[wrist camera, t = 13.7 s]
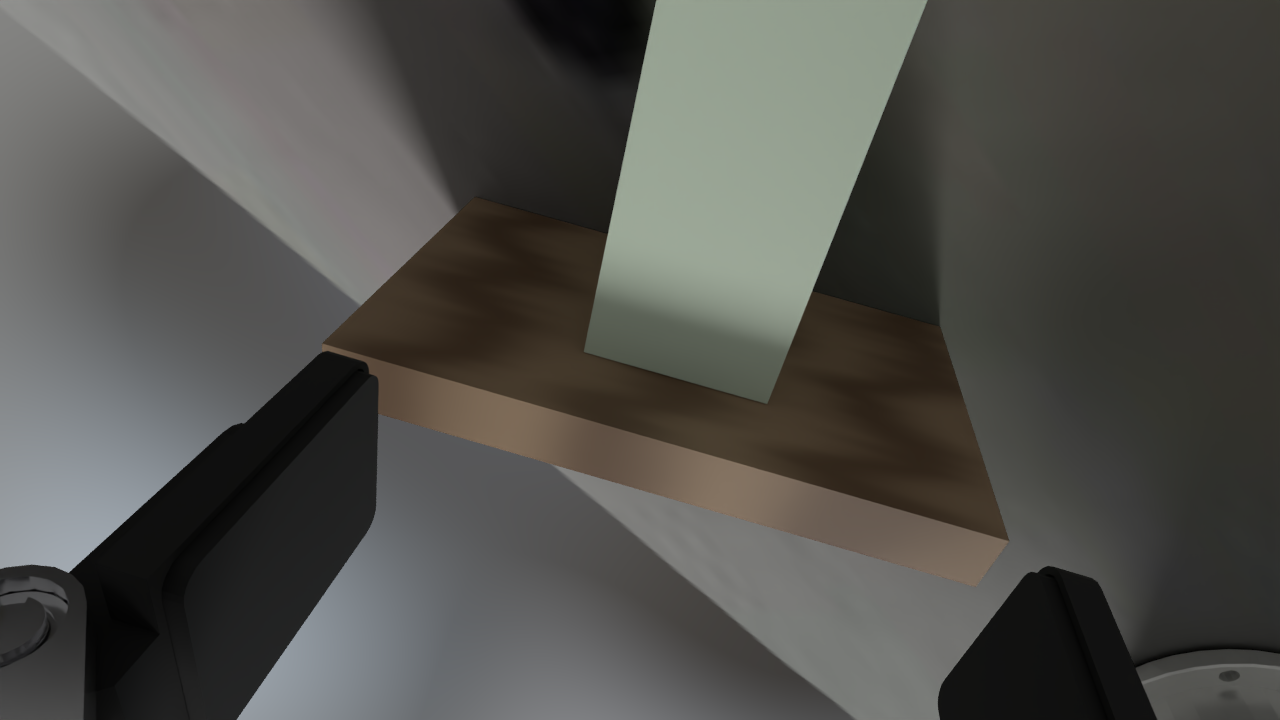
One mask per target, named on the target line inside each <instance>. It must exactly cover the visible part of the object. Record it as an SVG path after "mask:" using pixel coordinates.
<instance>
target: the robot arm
mask: <svg viewBox="0 0 1280 720" xmlns="http://www.w3.org/2000/svg"><path fill="white" fill-rule="evenodd" d="M378 396H379V382H378V378H377V376H375V375H372V374H369V367H368V365H367V363H365V362H364V361H361V360H357V359H354V358H351V357H347V356H344V355H340V354H337V353H334V352H330V351H324V352H322V353H320V354H319V355H318V356H317V357H316V358H314V359H313V360H312V361H311V362H310V363H309V364H308V365H307V366H306V367H305V368H304V369H303V370H302V371H300V372H299V373H298V374H297V375H296V376H295V377H294V378H293V379H292V380H291V381H290V382H289V383H288V384H287V385H285V386H284V387H283V388H282V389H281V390H280V391H279V392H278V393H277V394H276V395H275V396H274V397H273V398H271V400H269V401H268V402H267V403H266V404H265V405H264V406H263V407H262V408H261V409H260V410H259V411H258V412H256V413H255V414H254V415H253V416H252V417H251V418H250V419H249V420H248V421H247V422H246V423H245V424H242V423H240V424H237V425H233V426H231V427H230V428H229V429H227V430H226V431H224V432H223V433H222V434H221V435H220V436H218V437H217V438H216V439H215V440H214V441H213V442H212V443H211V444H210V445H209V446H208V447H207V448H205V449H204V450H203V451H202V452H201V453H200V454H199V455H198V456H197V457H196V458H194V459H193V460H192V461H191V462H190V463H189V464H188V465H187V466H186V467H184V468H183V469H182V470H181V471H180V472H179V473H178V474H177V475H176V476H175V477H173V478H172V479H171V480H170V481H169V482H168V483H167V484H166V485H165V486H164V487H163V488H161V489H160V490H159V491H158V492H157V493H156V494H155V495H154V496H153V497H152V498H151V499H150V500H148V501H147V502H146V503H145V504H144V505H143V506H142V507H141V508H139V509H138V510H137V511H136V512H135V513H134V514H133V515H132V516H131V517H130V518H129V519H127V520H126V521H125V522H124V523H123V524H122V525H121V526H120V527H119V528H118V529H117V530H115V531H114V532H113V533H112V534H111V535H110V536H109V537H108V538H107V539H106V540H104V541H103V542H102V543H101V544H100V545H99V546H98V547H97V548H96V549H95V550H94V551H92V552H91V553H90V554H89V555H88V556H87V557H86V558H85V559H84V560H82V561H81V562H80V563H79V564H78V565H77V566H76V567H75V568H74V569H72V571H70V572H69V573H67V572H65V571H63V570H60V569H58V568H56V567H49V566H39V565H24V566H15V567H6V568H3V569H0V720H237V718H238V717H239V715H240V714H241V712H242V711H243V709H244V708H245V707H246V705H247V704H248V702H249V701H250V699H251V698H252V696H253V695H254V693H255V692H256V691H257V689H258V688H259V686H260V685H261V684H262V682H263V681H264V679H265V678H266V676H267V675H268V674H269V672H270V671H271V669H272V668H273V666H274V665H275V663H276V662H277V661H278V659H279V658H280V656H281V655H282V653H283V652H284V651H285V649H286V648H287V646H288V645H289V643H290V642H291V641H292V639H293V638H294V636H295V635H296V633H297V632H298V630H299V629H300V628H301V626H302V625H303V623H304V622H305V620H306V619H307V618H308V616H309V615H310V613H311V612H312V610H313V609H314V607H315V606H316V605H317V603H318V602H319V600H320V599H321V597H322V596H323V595H324V593H325V592H326V590H327V589H328V587H329V586H330V585H331V583H332V581H333V580H334V579H335V577H336V576H337V575H338V573H339V572H340V570H341V569H342V567H343V566H344V564H345V563H346V562H347V560H348V559H349V557H350V556H351V554H352V553H353V551H354V550H355V549H356V547H357V546H358V544H359V543H360V541H361V540H362V538H363V537H364V536H365V534H366V533H367V531H368V529H369V528H370V525H371V523H372V521H373V518H374V515H375V510H376V481H377V439H378ZM938 710H939V716H940V720H1280V654H1277V653H1271V652H1264V651H1258V650H1239V649H1220V650H1204V651H1196V652H1190V653H1184V654H1178V655H1172V656H1169V657H1165V658H1162V659H1159V660H1155V661H1152V662H1148V663H1146V664H1143V665H1141V666H1139V667H1136V668H1135V666H1134V664H1133V661H1132V659H1131V657H1130V654H1129V652H1128V650H1127V647H1126V645H1125V643H1124V640H1123V638H1122V636H1121V633H1120V631H1119V629H1118V626H1117V624H1116V622H1115V619H1114V617H1113V615H1112V612H1111V610H1110V608H1109V605H1108V603H1107V601H1106V598H1105V596H1104V593H1103V591H1102V589H1101V587H1100V586H1099V584H1098V582H1096V581H1095V580H1094V579H1092V578H1089V577H1086V576H1083V575H1079V574H1076V573H1073V572H1069V571H1066V570H1062V569H1059V568H1056V567H1051V566H1047V567H1044V568H1042V569H1041V570H1040V571H1039V572H1038V573H1035V572H1030V573H1028V574H1026V575H1025V576H1024V577H1023V579H1022V580H1021V581H1020V583H1019V584H1018V585H1017V586H1016V588H1015V589H1014V590H1013V592H1012V593H1011V594H1010V596H1009V597H1008V598H1007V599H1006V601H1005V602H1004V603H1003V605H1002V606H1001V607H1000V609H999V610H998V611H997V612H996V614H995V615H994V616H993V618H992V619H991V620H990V622H989V623H988V624H987V625H986V627H985V628H984V629H983V631H982V632H981V633H980V635H979V636H978V637H977V638H976V640H975V641H974V642H973V644H972V645H971V646H970V648H969V649H968V650H967V651H966V653H965V654H964V655H963V657H962V658H961V659H960V661H959V662H958V663H957V664H956V666H955V667H954V668H953V670H952V671H951V672H950V674H949V675H948V676H947V677H946V679H945V680H944V682H943V683H942V685H941V688H940V691H939V696H938Z"/></svg>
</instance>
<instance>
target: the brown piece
mask: <svg viewBox="0 0 1280 720" xmlns="http://www.w3.org/2000/svg"><path fill="white" fill-rule="evenodd" d="M607 236H608V234H606V233H603V232H599V231H595V230H592V229H588V228H585V227H581V226H578V225H574V224H570V223H567V222H563V221H560V220H556V219H553V218H549V217H545V216H542V215H538V214H535V213H531V212H527V211H524V210H520V209H517V208H513V207H510V206H506V205H502V204H499V203H495V202H492V201H488V200H485V199H481V198H477V197H474V198H473V199H472V200H471V201H470V202H469V203H468V204H467V205H466V206H465V207H464V208H463V209H462V210H461V211H460V212H459V213H458V214H456V215H455V216H454V217H453V218H452V219H451V220H450V221H449V222H448V223H447V224H446V225H445V226H444V227H443V228H442V229H441V230H440V231H439V232H438V233H437V234H436V235H435V236H434V237H432V238H431V239H430V240H429V241H428V242H427V243H426V244H425V245H424V246H423V247H422V248H421V249H420V250H419V251H418V252H417V253H416V254H415V255H414V256H413V257H412V258H411V259H410V260H409V261H407V262H406V263H405V264H404V265H403V266H402V267H401V268H400V269H399V270H398V271H397V272H396V273H395V274H394V275H393V276H392V277H391V278H390V279H389V280H388V281H387V282H386V283H385V284H383V285H382V286H381V287H380V288H379V289H378V290H377V291H376V292H375V293H374V294H373V295H372V296H371V297H370V298H369V299H368V300H367V301H366V302H365V303H364V304H363V305H362V306H361V307H360V308H358V309H357V310H356V311H355V312H354V313H353V314H352V315H351V316H350V317H349V318H348V319H347V320H346V321H345V322H344V323H343V324H342V325H341V326H340V327H339V328H338V329H337V330H336V331H335V332H333V333H332V334H331V335H330V336H329V337H328V338H327V339H326V340H325V341H324V342H323V343H322V352H324V351H330V352H334V353H337V354H340V355H344V356H347V357H351V358H354V359H357V360H361V361H364V362H365V363H367V365H368V367H369V374H372V375H375V376H377V378H378V382H379V396H378V414H381V415H384V416H388V417H391V418H395V419H399V420H402V421H405V422H409V423H412V424H415V425H419V426H422V427H426V428H429V429H433V430H436V431H439V432H443V433H446V434H450V435H453V436H457V437H460V438H464V439H467V440H471V441H474V442H478V443H481V444H484V445H488V446H491V447H495V448H498V449H502V450H505V451H508V452H512V453H515V454H519V455H522V456H526V457H529V458H533V459H536V460H539V461H543V462H546V463H550V464H553V465H557V466H560V467H564V468H567V469H571V470H574V471H577V472H581V473H584V474H588V475H591V476H595V477H598V478H602V479H605V480H608V481H612V482H615V483H619V484H622V485H626V486H629V487H633V488H636V489H639V490H643V491H646V492H650V493H653V494H657V495H660V496H664V497H667V498H671V499H674V500H677V501H681V502H684V503H688V504H691V505H695V506H698V507H702V508H705V509H708V510H712V511H715V512H719V513H722V514H726V515H729V516H733V517H736V518H739V519H743V520H746V521H750V522H753V523H757V524H760V525H764V526H767V527H771V528H774V529H777V530H781V531H784V532H788V533H791V534H795V535H798V536H802V537H805V538H808V539H812V540H815V541H819V542H822V543H826V544H829V545H833V546H836V547H839V548H843V549H846V550H850V551H853V552H857V553H860V554H864V555H867V556H871V557H874V558H877V559H881V560H884V561H888V562H891V563H895V564H898V565H902V566H905V567H908V568H912V569H915V570H919V571H922V572H926V573H929V574H933V575H936V576H939V577H943V578H946V579H950V580H953V581H957V582H960V583H964V584H967V585H971V586H974V587H976V586H977V585H978V583H979V582H980V580H981V579H982V578H983V576H984V575H985V574H986V572H987V571H988V570H989V568H990V567H991V566H992V564H993V563H994V561H995V560H996V559H997V557H998V556H999V555H1000V553H1001V552H1002V551H1003V549H1004V548H1005V546H1006V545H1007V544H1008V542H1009V539H1008V536H1007V532H1006V529H1005V526H1004V523H1003V520H1002V517H1001V514H1000V511H999V508H998V505H997V502H996V498H995V495H994V492H993V489H992V486H991V483H990V480H989V477H988V474H987V471H986V467H985V464H984V461H983V458H982V455H981V452H980V449H979V446H978V443H977V440H976V436H975V433H974V430H973V427H972V424H971V421H970V418H969V415H968V412H967V409H966V405H965V402H964V399H963V396H962V393H961V390H960V387H959V384H958V381H957V378H956V374H955V371H954V368H953V365H952V362H951V359H950V356H949V353H948V350H947V347H946V344H945V340H944V337H943V334H942V331H941V328H940V327H939V326H935V325H932V324H928V323H925V322H921V321H918V320H914V319H910V318H907V317H903V316H900V315H896V314H892V313H889V312H885V311H882V310H878V309H875V308H871V307H867V306H864V305H860V304H857V303H853V302H850V301H846V300H842V299H839V298H835V297H832V296H828V295H824V294H821V293H817V292H814V291H812V292H811V295H810V297H809V300H808V303H807V305H806V308H805V310H804V313H803V315H802V318H801V320H800V323H799V325H798V328H797V330H796V333H795V335H794V338H793V340H792V343H791V345H790V348H789V350H788V353H787V355H786V358H785V360H784V363H783V365H782V368H781V371H780V373H779V376H778V378H777V381H776V383H775V386H774V388H773V391H772V393H771V396H770V398H769V401H768V403H767V404H765V403H762V402H758V401H754V400H751V399H747V398H744V397H740V396H737V395H733V394H730V393H726V392H723V391H719V390H716V389H712V388H709V387H705V386H702V385H698V384H695V383H691V382H688V381H684V380H681V379H677V378H674V377H670V376H667V375H663V374H660V373H656V372H652V371H649V370H645V369H642V368H638V367H635V366H631V365H628V364H624V363H621V362H617V361H614V360H610V359H607V358H603V357H600V356H596V355H593V354H589V353H586V352H584V348H585V343H586V338H587V333H588V328H589V324H590V319H591V314H592V309H593V304H594V299H595V295H596V290H597V285H598V280H599V275H600V270H601V265H602V261H603V256H604V251H605V246H606V241H607Z"/></svg>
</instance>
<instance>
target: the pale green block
mask: <svg viewBox="0 0 1280 720" xmlns="http://www.w3.org/2000/svg"><path fill="white" fill-rule="evenodd" d="M926 3H927V0H656V4H655V9H654V14H653V19H652V24H651V28H650V33H649V38H648V43H647V48H646V53H645V57H644V62H643V67H642V72H641V77H640V82H639V86H638V91H637V96H636V101H635V106H634V111H633V115H632V120H631V125H630V130H629V135H628V140H627V145H626V149H625V154H624V159H623V164H622V169H621V174H620V178H619V183H618V188H617V193H616V198H615V203H614V207H613V212H612V217H611V222H610V227H609V232H608V236H607V241H606V246H605V251H604V256H603V261H602V265H601V270H600V275H599V280H598V285H597V290H596V295H595V299H594V304H593V309H592V314H591V319H590V324H589V328H588V333H587V338H586V343H585V348H584V352H586V353H589V354H593V355H596V356H600V357H603V358H607V359H610V360H614V361H617V362H621V363H624V364H628V365H631V366H635V367H638V368H642V369H645V370H649V371H652V372H656V373H660V374H663V375H667V376H670V377H674V378H677V379H681V380H684V381H688V382H691V383H695V384H698V385H702V386H705V387H709V388H712V389H716V390H719V391H723V392H726V393H730V394H733V395H737V396H740V397H744V398H747V399H751V400H754V401H758V402H762V403H765V404H767V403H768V401H769V398H770V396H771V393H772V391H773V388H774V386H775V383H776V381H777V378H778V376H779V373H780V371H781V368H782V365H783V363H784V360H785V358H786V355H787V353H788V350H789V348H790V345H791V343H792V340H793V338H794V335H795V333H796V330H797V328H798V325H799V323H800V320H801V318H802V315H803V313H804V310H805V308H806V305H807V303H808V300H809V297H810V295H811V292H812V290H813V287H814V285H815V282H816V280H817V277H818V275H819V272H820V270H821V267H822V265H823V262H824V260H825V257H826V255H827V252H828V250H829V247H830V245H831V242H832V240H833V237H834V234H835V232H836V229H837V227H838V224H839V222H840V219H841V217H842V214H843V212H844V209H845V207H846V204H847V202H848V199H849V197H850V194H851V192H852V189H853V187H854V184H855V182H856V179H857V177H858V174H859V172H860V169H861V166H862V164H863V161H864V159H865V156H866V154H867V151H868V149H869V146H870V144H871V141H872V139H873V136H874V134H875V131H876V129H877V126H878V124H879V121H880V119H881V116H882V114H883V111H884V109H885V106H886V104H887V101H888V98H889V96H890V93H891V91H892V88H893V86H894V83H895V81H896V78H897V76H898V73H899V71H900V68H901V66H902V63H903V61H904V58H905V56H906V53H907V51H908V48H909V46H910V43H911V41H912V38H913V35H914V33H915V30H916V28H917V25H918V23H919V20H920V18H921V15H922V13H923V10H924V8H925V5H926Z"/></svg>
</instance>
